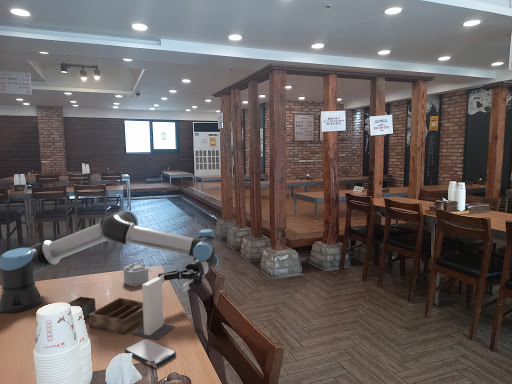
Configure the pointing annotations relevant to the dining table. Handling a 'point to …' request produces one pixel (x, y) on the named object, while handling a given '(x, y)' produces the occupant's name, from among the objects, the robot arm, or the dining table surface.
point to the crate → (118, 316)
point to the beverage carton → (84, 305)
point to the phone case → (151, 352)
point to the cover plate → (152, 305)
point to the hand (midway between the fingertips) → (168, 286)
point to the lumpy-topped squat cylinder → (135, 274)
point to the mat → (156, 334)
